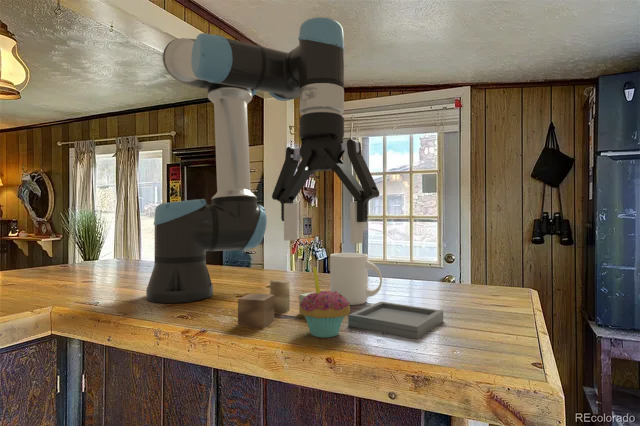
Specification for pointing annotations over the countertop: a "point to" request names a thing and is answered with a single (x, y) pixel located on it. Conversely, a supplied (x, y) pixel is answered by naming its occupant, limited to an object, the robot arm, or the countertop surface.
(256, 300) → the walnut block
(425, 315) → the tray
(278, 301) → the oak cylinder
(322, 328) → the cupcake
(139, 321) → the countertop surface
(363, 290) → the mug
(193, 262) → the robot arm
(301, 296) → the sage block
